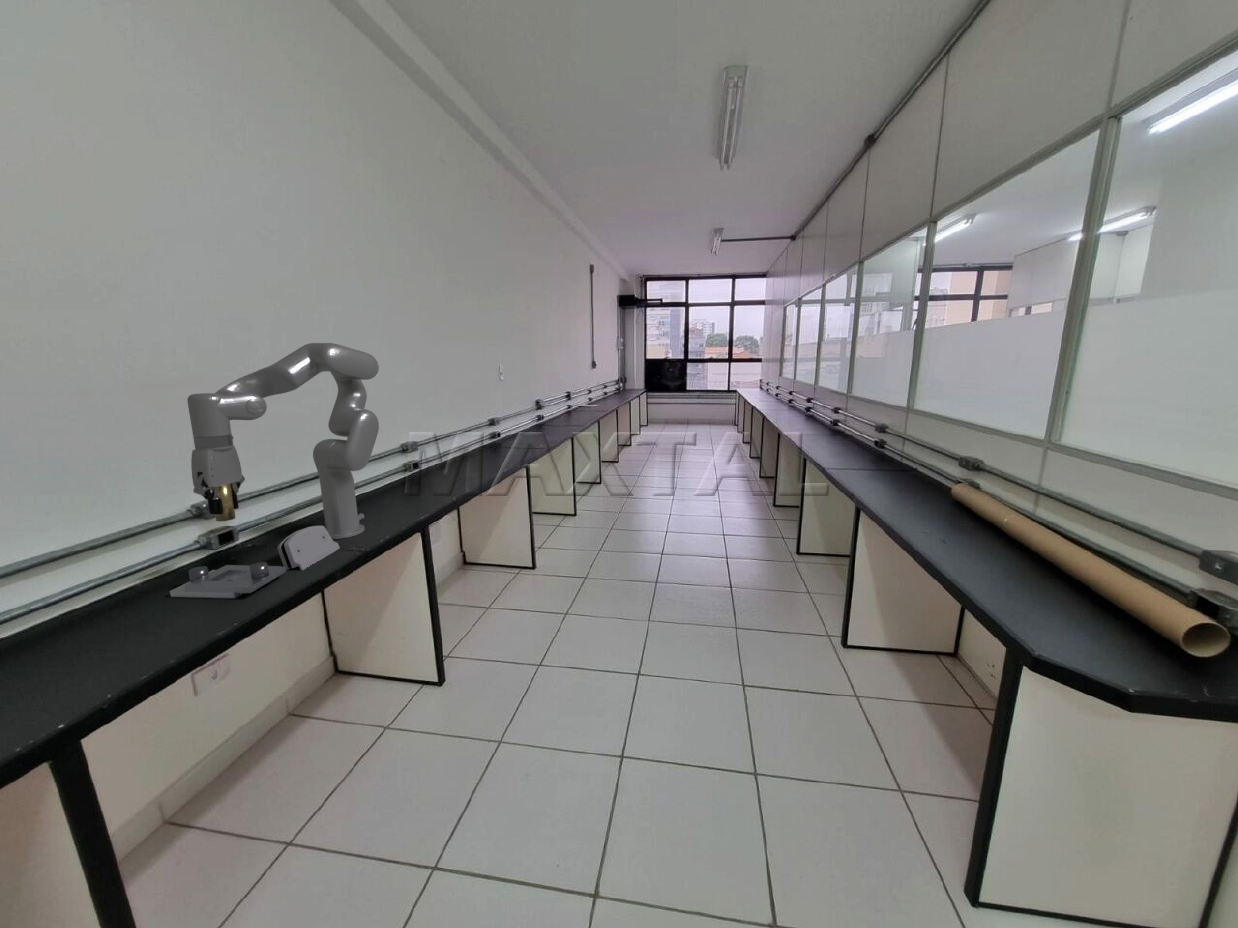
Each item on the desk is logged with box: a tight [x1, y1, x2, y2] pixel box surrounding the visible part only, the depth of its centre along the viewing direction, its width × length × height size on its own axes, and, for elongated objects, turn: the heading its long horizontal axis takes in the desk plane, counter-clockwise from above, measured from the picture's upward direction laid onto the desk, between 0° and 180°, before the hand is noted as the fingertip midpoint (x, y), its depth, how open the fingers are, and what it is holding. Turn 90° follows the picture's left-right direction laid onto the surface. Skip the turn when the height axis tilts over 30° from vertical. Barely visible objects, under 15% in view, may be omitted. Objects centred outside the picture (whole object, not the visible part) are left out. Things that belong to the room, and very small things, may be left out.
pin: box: [211, 484, 236, 522], centre depth 124 cm, size 4×4×10 cm
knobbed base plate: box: [169, 561, 287, 599], centre depth 120 cm, size 12×20×6 cm, turn 88°
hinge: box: [277, 525, 341, 571], centre depth 138 cm, size 17×5×10 cm, turn 176°
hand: (224, 510), depth 125 cm, fingers closed on pin, 4 cm apart
